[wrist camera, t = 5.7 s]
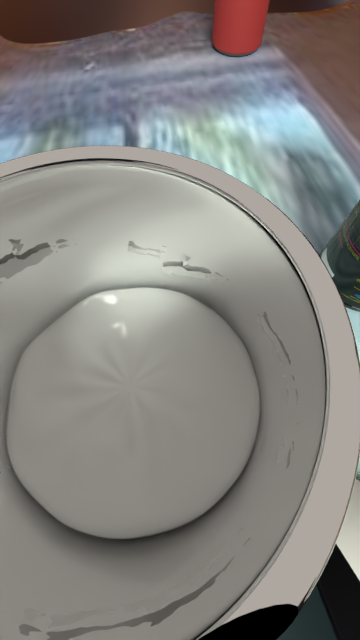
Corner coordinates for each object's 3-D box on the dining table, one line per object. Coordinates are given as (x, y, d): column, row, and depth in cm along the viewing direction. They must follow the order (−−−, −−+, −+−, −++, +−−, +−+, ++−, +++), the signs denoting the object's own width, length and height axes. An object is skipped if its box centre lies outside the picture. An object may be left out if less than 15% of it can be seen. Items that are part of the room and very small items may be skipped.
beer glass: (116, 361, 18) (-93, 134, 4) (217, 364, 18) (319, 134, 4) (101, 477, 15) (-589, 818, 2) (220, 482, 15) (547, 918, 1)
